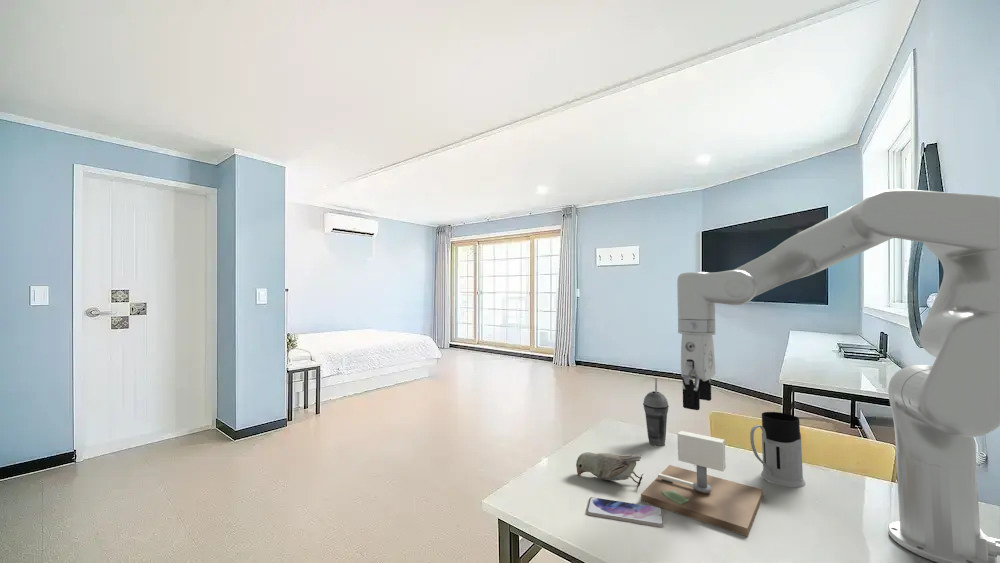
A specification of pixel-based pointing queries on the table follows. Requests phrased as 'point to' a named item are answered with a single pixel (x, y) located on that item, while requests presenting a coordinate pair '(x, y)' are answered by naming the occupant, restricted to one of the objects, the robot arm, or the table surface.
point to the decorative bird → (608, 465)
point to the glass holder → (780, 449)
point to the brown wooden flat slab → (706, 500)
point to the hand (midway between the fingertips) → (697, 404)
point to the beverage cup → (656, 417)
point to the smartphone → (625, 512)
